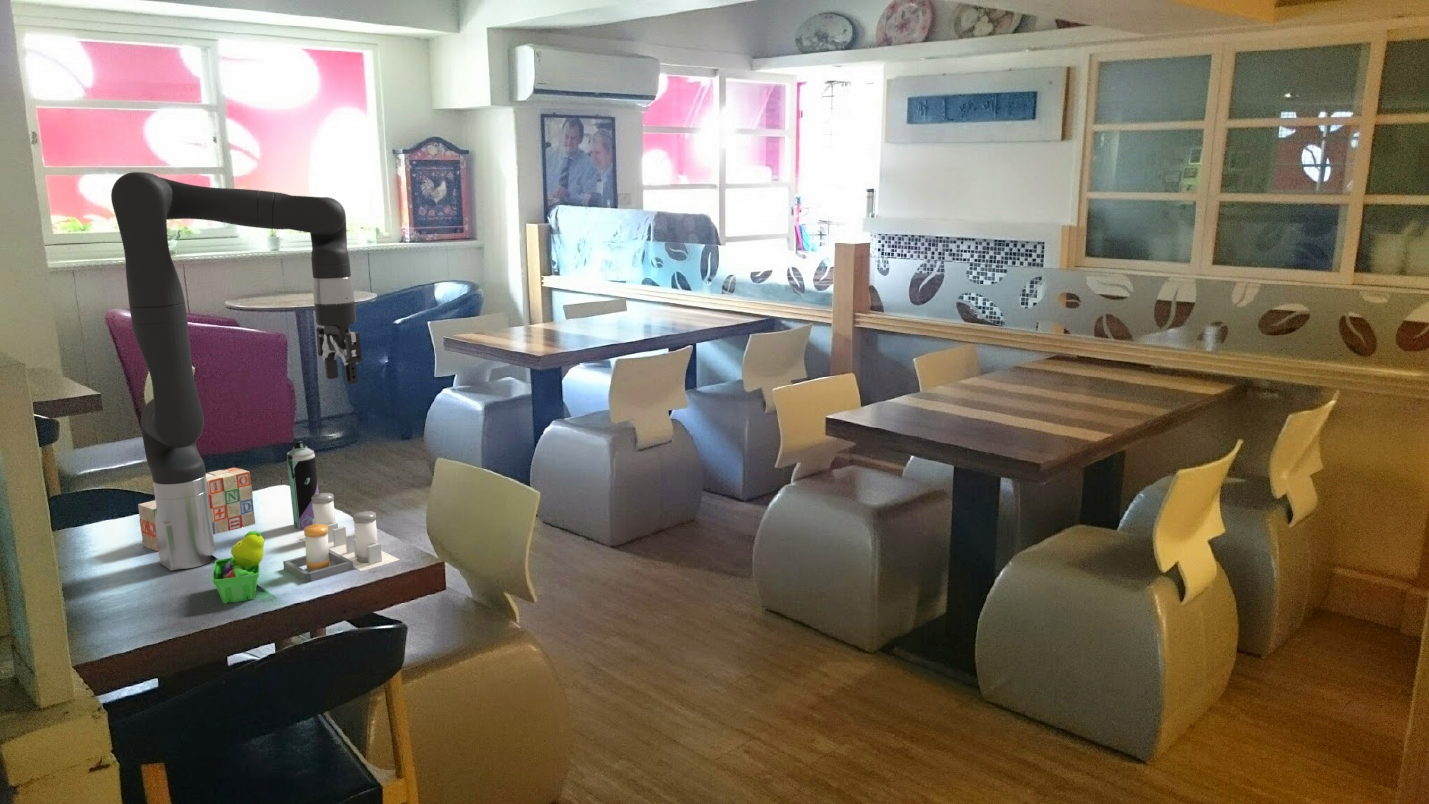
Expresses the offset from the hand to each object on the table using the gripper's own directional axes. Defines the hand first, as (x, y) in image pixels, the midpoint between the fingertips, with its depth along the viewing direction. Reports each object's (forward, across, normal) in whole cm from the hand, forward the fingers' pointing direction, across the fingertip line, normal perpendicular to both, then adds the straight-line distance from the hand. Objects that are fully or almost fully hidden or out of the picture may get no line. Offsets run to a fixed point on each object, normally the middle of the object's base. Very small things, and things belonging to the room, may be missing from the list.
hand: (341, 380), depth 205 cm
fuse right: (+33, -15, +5) cm, 36 cm away
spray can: (+34, +14, +4) cm, 37 cm away
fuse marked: (+33, -13, +14) cm, 38 cm away
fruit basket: (+34, -10, +27) cm, 45 cm away
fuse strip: (+34, -6, +5) cm, 35 cm away
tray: (+34, -13, +14) cm, 39 cm away
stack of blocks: (+34, +30, +21) cm, 50 cm away
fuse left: (+33, +3, +5) cm, 33 cm away
